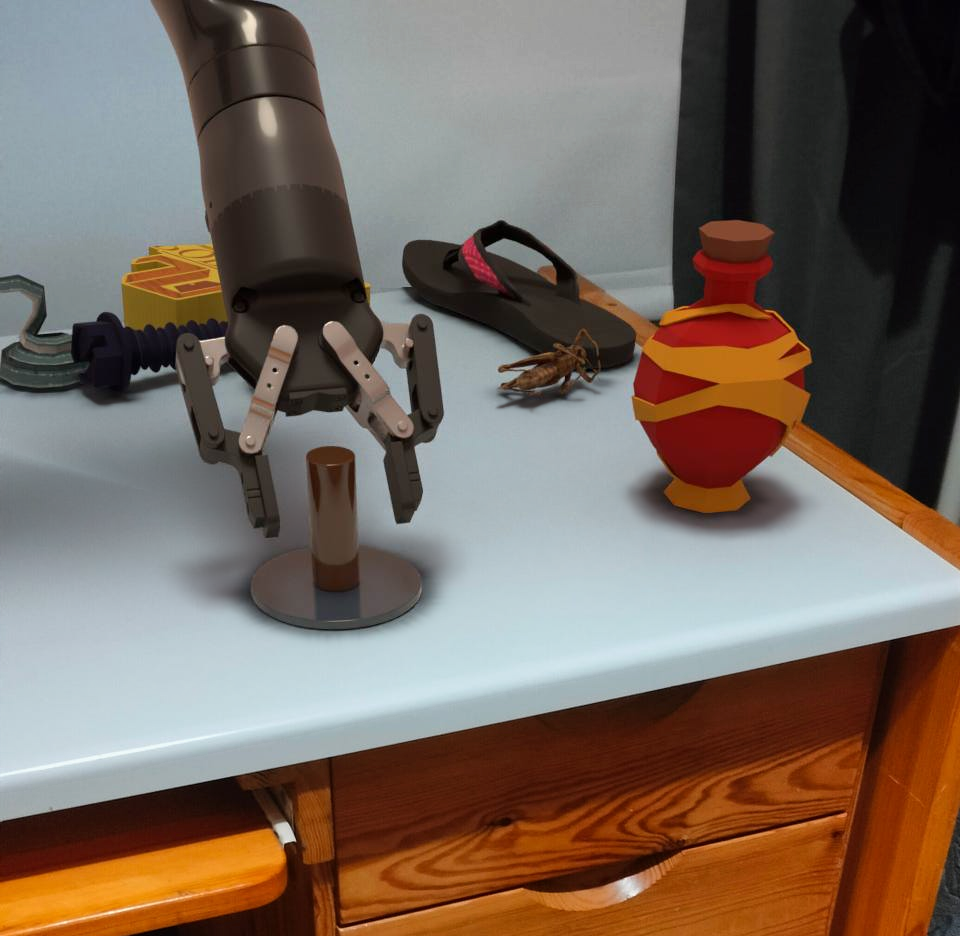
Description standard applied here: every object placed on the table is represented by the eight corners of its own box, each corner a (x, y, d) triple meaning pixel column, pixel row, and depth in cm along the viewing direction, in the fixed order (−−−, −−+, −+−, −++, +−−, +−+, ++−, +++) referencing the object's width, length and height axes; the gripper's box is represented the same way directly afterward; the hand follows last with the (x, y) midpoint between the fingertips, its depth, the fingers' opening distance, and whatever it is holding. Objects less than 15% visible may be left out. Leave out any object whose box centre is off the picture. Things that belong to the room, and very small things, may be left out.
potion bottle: (617, 524, 97) (637, 252, 87) (630, 457, 105) (650, 200, 95) (794, 537, 96) (836, 264, 86) (794, 468, 104) (832, 210, 94)
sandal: (479, 263, 134) (479, 187, 130) (671, 355, 119) (679, 272, 115) (380, 283, 130) (378, 205, 126) (566, 380, 115) (570, 295, 111)
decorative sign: (197, 269, 132) (43, 296, 123) (195, 230, 130) (39, 254, 121) (374, 327, 122) (220, 361, 113) (374, 285, 120) (218, 316, 111)
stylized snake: (-85, 376, 113) (-105, 275, 109) (183, 333, 121) (174, 238, 117) (-52, 410, 109) (-72, 306, 104) (224, 363, 117) (216, 265, 112)
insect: (536, 426, 109) (485, 420, 113) (620, 384, 113) (568, 380, 117) (525, 356, 107) (472, 353, 110) (612, 316, 111) (559, 313, 114)
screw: (106, 374, 107) (80, 300, 107) (85, 408, 112) (60, 337, 111) (338, 349, 116) (315, 280, 116) (310, 381, 120) (288, 315, 120)
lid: (220, 609, 88) (206, 472, 83) (301, 541, 95) (292, 410, 90) (376, 643, 86) (371, 504, 81) (448, 571, 92) (449, 438, 87)
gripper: (145, 187, 81) (209, 512, 81) (423, 169, 85) (486, 481, 84) (143, 269, 89) (201, 567, 88) (399, 250, 92) (456, 537, 91)
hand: (340, 524), depth 86 cm, fingers open, 6 cm apart
